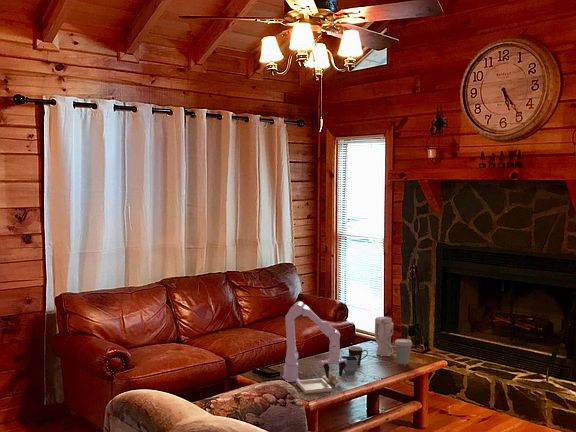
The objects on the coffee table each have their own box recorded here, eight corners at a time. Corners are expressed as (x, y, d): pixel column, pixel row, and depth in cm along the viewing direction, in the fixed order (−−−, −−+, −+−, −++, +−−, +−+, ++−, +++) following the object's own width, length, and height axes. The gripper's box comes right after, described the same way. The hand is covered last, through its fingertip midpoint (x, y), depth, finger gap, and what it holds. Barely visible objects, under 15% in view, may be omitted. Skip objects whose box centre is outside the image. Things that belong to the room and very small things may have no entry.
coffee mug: (346, 365, 372) (347, 349, 371) (349, 361, 380) (349, 345, 379) (365, 367, 368) (366, 351, 367) (368, 363, 376) (368, 347, 376)
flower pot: (340, 370, 362) (341, 355, 362) (355, 370, 363) (355, 355, 362) (342, 375, 354) (343, 360, 353) (357, 375, 354) (358, 360, 353)
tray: (296, 384, 339) (296, 380, 338) (321, 381, 343) (322, 378, 343) (305, 393, 324) (305, 390, 324) (331, 391, 329) (332, 387, 329)
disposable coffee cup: (390, 362, 379) (391, 339, 377) (402, 359, 385) (403, 336, 384) (402, 367, 370) (403, 343, 369) (415, 364, 377) (416, 340, 375)
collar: (322, 378, 348) (322, 370, 348) (333, 377, 351) (333, 369, 350) (328, 384, 339) (328, 376, 339) (340, 383, 341) (340, 375, 341)
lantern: (382, 350, 403) (383, 313, 401) (395, 354, 395) (396, 316, 393) (370, 355, 394) (371, 316, 391) (383, 358, 386) (385, 319, 384)
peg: (327, 379, 347) (328, 372, 346) (331, 379, 347) (331, 372, 347) (329, 380, 345) (329, 373, 345) (332, 380, 346) (332, 373, 345)
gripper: (324, 355, 334) (324, 379, 335) (349, 353, 338) (348, 377, 339) (320, 351, 341) (319, 375, 342) (344, 349, 345) (343, 373, 346)
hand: (333, 376), depth 341 cm, fingers open, 7 cm apart
